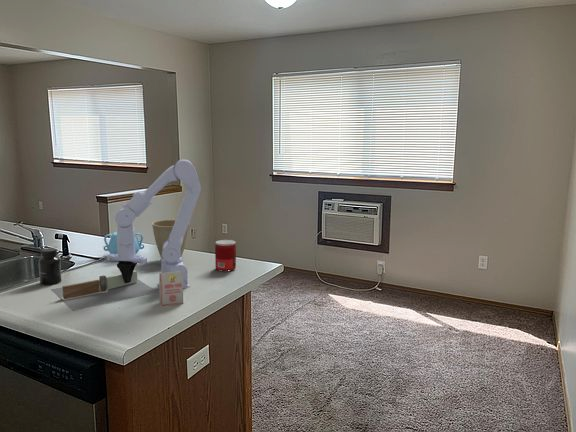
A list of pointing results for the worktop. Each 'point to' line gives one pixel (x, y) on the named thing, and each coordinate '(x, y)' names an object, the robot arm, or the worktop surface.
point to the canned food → (225, 255)
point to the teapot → (113, 243)
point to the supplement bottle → (49, 267)
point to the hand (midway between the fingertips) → (127, 282)
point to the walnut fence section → (84, 288)
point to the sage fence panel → (119, 280)
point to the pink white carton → (171, 288)
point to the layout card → (106, 295)
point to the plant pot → (165, 234)
